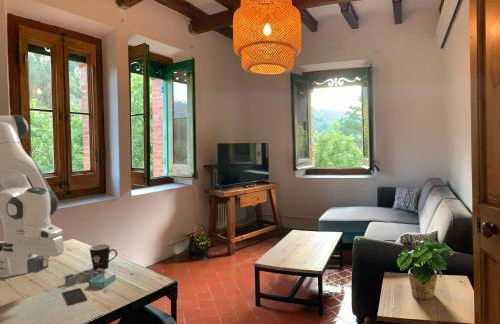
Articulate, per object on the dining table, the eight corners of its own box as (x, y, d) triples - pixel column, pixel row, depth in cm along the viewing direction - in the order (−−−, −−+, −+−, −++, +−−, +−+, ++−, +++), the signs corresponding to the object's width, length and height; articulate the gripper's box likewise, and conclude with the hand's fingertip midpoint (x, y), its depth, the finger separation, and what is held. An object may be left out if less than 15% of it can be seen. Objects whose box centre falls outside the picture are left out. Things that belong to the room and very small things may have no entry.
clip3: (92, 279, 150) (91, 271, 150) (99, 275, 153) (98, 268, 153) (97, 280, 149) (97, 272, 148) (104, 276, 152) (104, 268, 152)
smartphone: (67, 305, 126) (61, 292, 137) (67, 307, 126) (61, 293, 137) (88, 299, 130) (80, 287, 141) (88, 301, 130) (80, 288, 141)
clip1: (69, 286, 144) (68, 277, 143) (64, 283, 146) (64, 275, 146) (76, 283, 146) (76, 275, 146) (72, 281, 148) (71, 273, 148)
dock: (88, 287, 142) (88, 281, 142) (101, 279, 150) (101, 273, 150) (103, 288, 140) (103, 282, 140) (115, 280, 148) (115, 274, 148)
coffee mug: (86, 269, 161) (85, 248, 161) (102, 263, 169) (101, 243, 168) (104, 273, 156) (102, 251, 155) (119, 267, 163) (118, 246, 163)
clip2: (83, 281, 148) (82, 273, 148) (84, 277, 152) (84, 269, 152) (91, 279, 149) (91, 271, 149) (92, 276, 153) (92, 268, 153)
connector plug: (27, 271, 134) (27, 260, 134) (47, 262, 144) (47, 252, 143) (36, 272, 133) (36, 261, 133) (55, 263, 143) (55, 252, 143)
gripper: (7, 230, 135) (8, 265, 135) (54, 234, 131) (54, 270, 131) (21, 226, 141) (22, 259, 142) (66, 230, 137) (66, 264, 138)
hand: (38, 265), depth 136 cm, fingers closed on connector plug, 4 cm apart
